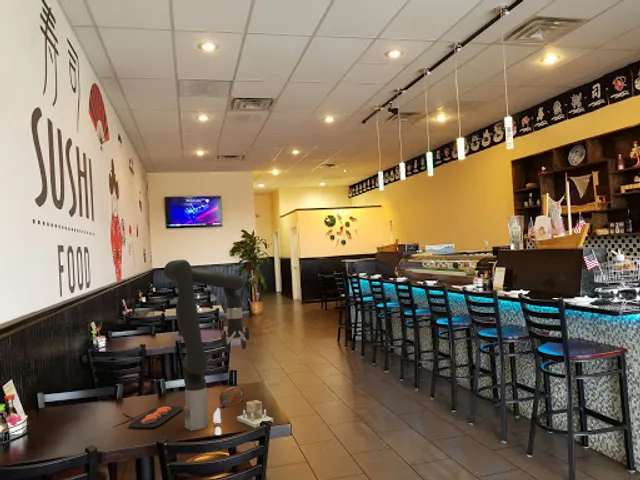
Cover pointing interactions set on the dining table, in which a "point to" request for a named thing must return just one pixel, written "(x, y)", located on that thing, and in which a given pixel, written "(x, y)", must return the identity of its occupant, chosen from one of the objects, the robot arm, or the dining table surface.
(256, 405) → the maple block
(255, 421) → the plate
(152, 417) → the sushi plate
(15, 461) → the dining table surface
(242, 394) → the tin
